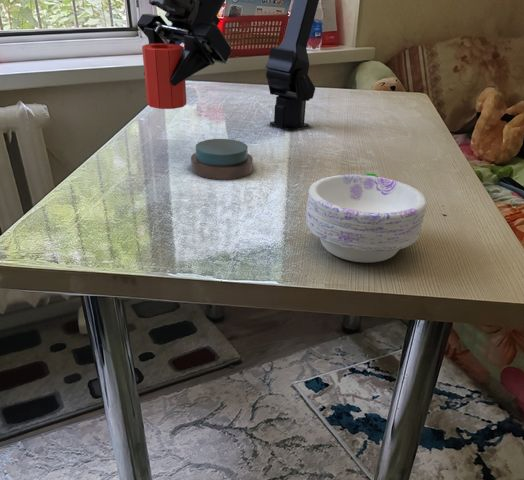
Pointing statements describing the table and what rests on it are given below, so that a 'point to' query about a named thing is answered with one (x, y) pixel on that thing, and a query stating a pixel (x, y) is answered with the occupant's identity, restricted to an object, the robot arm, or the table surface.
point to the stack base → (221, 170)
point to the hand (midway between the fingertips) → (158, 80)
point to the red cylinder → (163, 76)
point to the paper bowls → (364, 216)
